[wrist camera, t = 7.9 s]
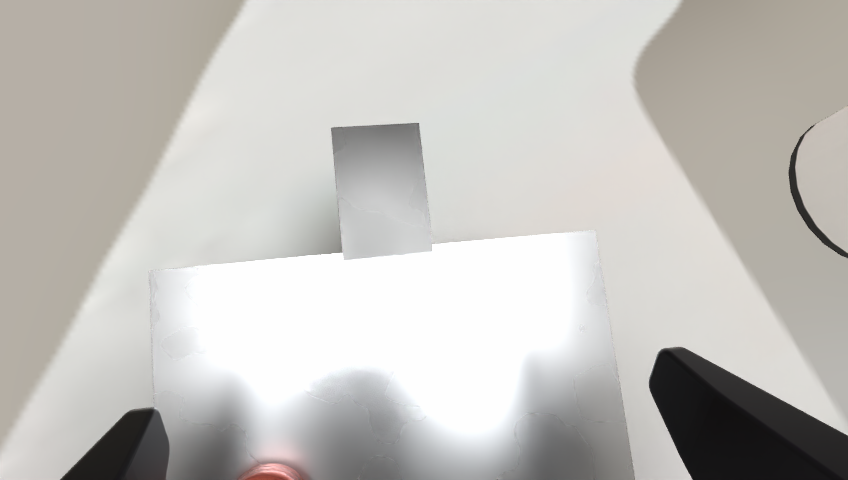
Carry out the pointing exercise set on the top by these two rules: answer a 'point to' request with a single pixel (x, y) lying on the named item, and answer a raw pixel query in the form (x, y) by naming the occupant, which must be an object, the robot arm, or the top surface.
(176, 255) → the top surface
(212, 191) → the top surface
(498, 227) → the top surface
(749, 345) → the top surface
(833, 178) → the mug
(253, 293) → the tabbed silver plate
